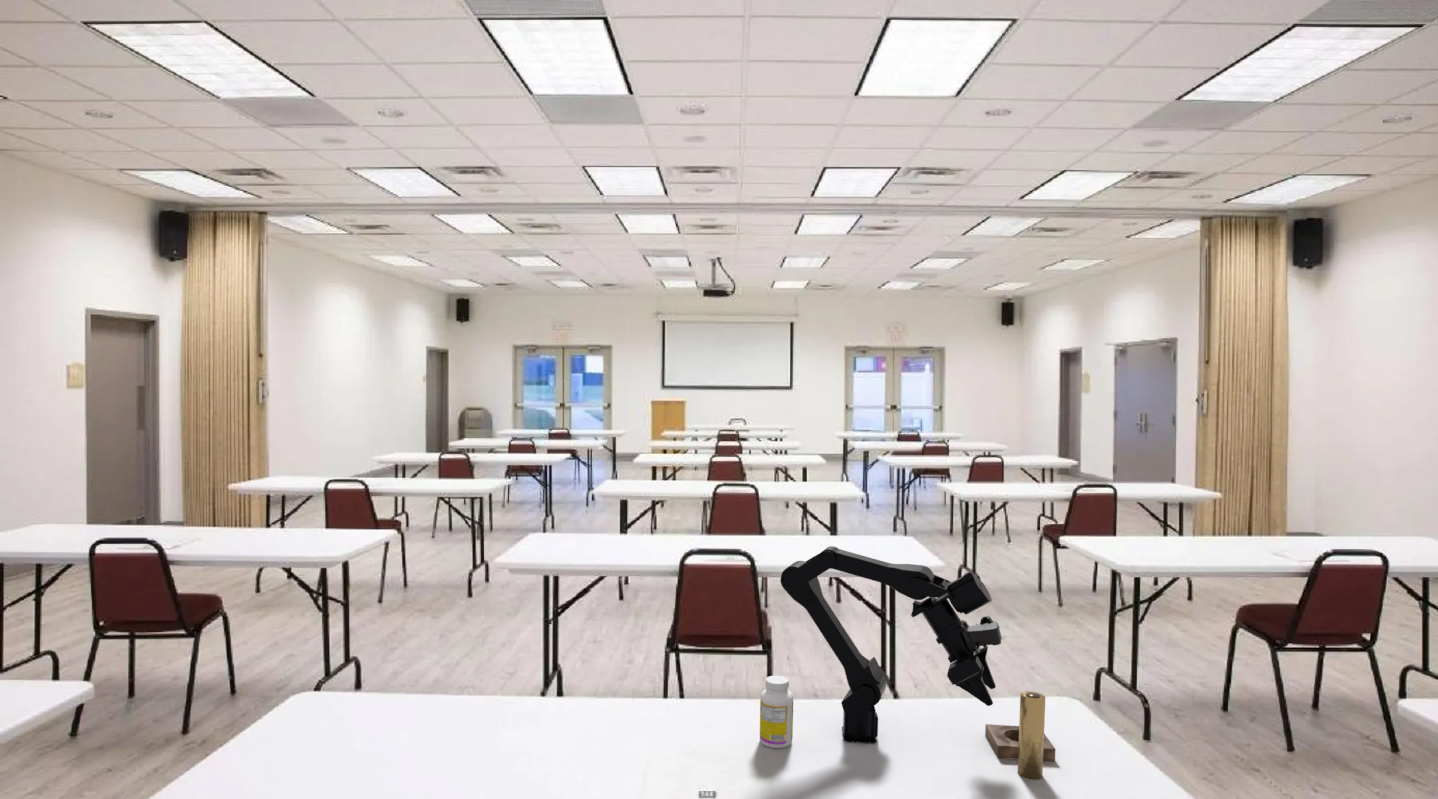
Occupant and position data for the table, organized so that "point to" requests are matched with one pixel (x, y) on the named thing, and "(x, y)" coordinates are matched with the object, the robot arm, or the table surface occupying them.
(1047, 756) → the jig plate
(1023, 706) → the bronze sleeve
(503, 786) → the table surface
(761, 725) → the supplement bottle
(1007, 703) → the table surface
